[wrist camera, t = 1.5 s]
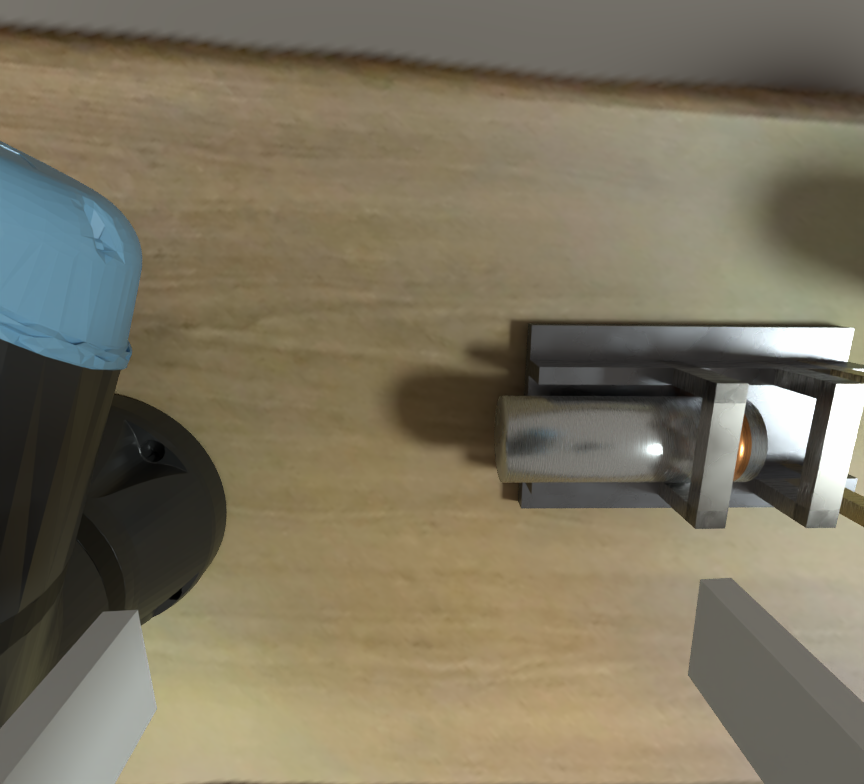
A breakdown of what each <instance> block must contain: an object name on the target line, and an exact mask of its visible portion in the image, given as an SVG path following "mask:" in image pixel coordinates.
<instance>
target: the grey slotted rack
mask: <svg viewBox="0 0 864 784" xmlns="http://www.w3.org/2000/svg"><path fill="white" fill-rule="evenodd" d="M853 333H854V328H850V327H842V326H738V325H624V324H528V338H527V355H526V373H525V390H524V396H695V397H701V398H702V405H701V412H700V419H699V426H698V433H697V440H696V446H695V453H694V460H693V467H692V474H691V481H690V482H544V483H519V494H518V502H519V505H520V507H521V508H673V509H674V510H675V511H676V512H677V513H678V514H680V515H681V516H682V517H683V518H684V519H685V520H686V521H687V522H688V523H689V524H691V525H692V526H693V527H694V528H695V529H716V528H725V525H726V519H727V513H728V507H775V508H776V509H778V510H779V511H781V512H782V513H784V514H786V515H787V516H789V517H790V518H792V519H793V520H795V521H796V522H798V523H799V524H801V525H802V526H804V527H806V528H836V524H837V519H838V515H839V513H840V514H842V515H843V516H845V517H847V518H849V519H850V520H852V521H854V522H856V523H858V524H859V525H861V526H863V527H864V497H863V496H861V495H859V494H857V493H855V488H856V483H857V478H855V477H853V476H851V475H849V474H848V471H849V466H850V462H851V457H852V453H853V448H854V444H855V440H856V435H857V431H858V426H859V422H860V417H861V413H862V409H863V404H864V365H861V364H856V363H851V362H847V361H848V357H849V352H850V347H851V343H852V338H853ZM746 400H749V401H750V402H752V403H753V404H754V405H755V406H756V408H757V409H758V410H759V412H760V414H761V416H762V418H763V420H764V423H765V426H766V430H767V437H768V450H767V456H766V460H765V463H764V465H763V467H762V469H761V471H760V472H759V474H758V475H757V476H756V477H755V478H753V479H752V480H750V481H747V482H733V477H734V471H735V465H736V459H737V453H738V447H739V441H740V435H741V429H742V423H743V417H744V411H745V406H746Z"/></svg>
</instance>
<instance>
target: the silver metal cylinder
mask: <svg viewBox="0 0 864 784" xmlns="http://www.w3.org/2000/svg"><path fill="white" fill-rule="evenodd" d="M701 405H702V398H701V397H695V396H500V397H499V399H498V402H497V407H496V413H495V427H494V446H495V460H496V467H497V473H498V477H499V479H500V481H501V482H502V483H544V482H690V481H691V474H692V467H693V460H694V453H695V446H696V440H697V433H698V426H699V419H700V412H701ZM767 450H768V437H767V430H766V426H765V423H764V420H763V418H762V416H761V414H760V412H759V410H758V409H757V408H756V406H755V405H754V404H753V403H752V402H750V401H749V400H746V406H745V411H744V417H743V423H742V429H741V435H740V441H739V447H738V453H737V459H736V465H735V471H734V477H733V482H747V481H750V480H752V479H753V478H755V477H756V476H757V475H758V474H759V472H760V471H761V469H762V467H763V465H764V463H765V460H766V456H767Z"/></svg>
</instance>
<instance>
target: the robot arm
mask: <svg viewBox="0 0 864 784" xmlns="http://www.w3.org/2000/svg"><path fill="white" fill-rule="evenodd" d="M141 270H142V250H141V246H140V242H139V239H138V237H137V235H136V232H135V230H134V229H133V227H132V225H131V224H130V222H129V221H128V220H127V218H126V217H125V216H124V215H123V213H122V212H121V211H120V210H119V209H118V208H117V207H116V206H115V205H114V204H113V203H111V202H110V201H109V200H107V199H106V198H105V197H104V196H102V195H101V194H99V193H97V192H96V191H94V190H93V189H91V188H89V187H88V186H86V185H84V184H82V183H80V182H79V181H77V180H75V179H73V178H71V177H69V176H68V175H66V174H64V173H62V172H60V171H58V170H56V169H54V168H52V167H51V166H49V165H47V164H45V163H43V162H41V161H39V160H37V159H35V158H33V157H31V156H29V155H27V154H25V153H23V152H21V151H19V150H17V149H15V148H13V147H11V146H9V145H8V144H6V143H3V142H1V141H0V784H115V782H116V781H117V779H118V777H119V775H120V773H121V772H122V770H123V768H124V766H125V765H126V763H127V761H128V759H129V757H130V756H131V754H132V752H133V750H134V749H135V747H136V745H137V743H138V741H139V740H140V738H141V736H142V734H143V733H144V731H145V729H146V727H147V725H148V724H149V722H150V720H151V718H152V717H153V715H154V713H155V711H156V709H157V706H156V701H155V696H154V691H153V686H152V680H151V675H150V670H149V665H148V660H147V655H146V650H145V644H144V639H143V634H142V629H141V625H143V624H144V623H146V622H147V621H149V620H150V619H151V618H152V617H154V616H156V615H158V614H160V613H162V612H163V611H165V610H167V609H168V608H170V607H171V606H173V605H174V604H175V603H177V602H178V601H179V600H180V599H182V598H183V597H184V596H185V595H186V594H187V593H188V592H189V591H190V590H191V589H192V588H193V587H194V585H195V584H196V583H197V582H198V580H199V579H200V578H201V576H202V575H203V573H204V572H205V571H206V569H207V568H208V566H209V565H210V564H211V562H212V561H213V559H214V557H215V556H216V554H217V552H218V550H219V547H220V545H221V542H222V539H223V536H224V531H225V526H226V500H225V494H224V489H223V486H222V482H221V479H220V477H219V474H218V472H217V470H216V468H215V466H214V464H213V462H212V460H211V458H210V457H209V455H208V454H207V452H206V451H205V449H204V448H203V447H202V446H201V444H200V443H199V442H198V441H197V440H196V439H195V437H194V436H193V435H192V434H191V433H190V432H189V431H188V430H186V429H185V428H184V427H183V426H182V425H181V424H179V423H178V422H177V421H175V420H174V419H173V418H171V417H170V416H168V415H166V414H165V413H163V412H161V411H160V410H158V409H156V408H154V407H152V406H150V405H148V404H145V403H143V402H140V401H137V400H134V399H131V398H128V397H124V396H120V395H114V392H115V388H116V384H117V381H118V377H119V374H120V370H122V369H125V368H127V364H128V362H129V359H130V357H131V355H132V348H131V346H130V343H129V341H128V337H129V331H130V326H131V321H132V316H133V311H134V306H135V301H136V296H137V291H138V286H139V280H140V275H141ZM688 676H689V677H690V678H691V680H692V681H693V683H694V684H695V686H696V687H697V688H698V690H699V691H700V693H701V694H702V696H703V697H704V698H705V700H706V701H707V703H708V704H709V706H710V707H711V708H712V710H713V711H714V713H715V714H716V716H717V717H718V718H719V720H720V721H721V723H722V724H723V726H724V727H725V728H726V730H727V731H728V733H729V734H730V736H731V737H732V738H733V740H734V741H735V743H736V744H737V746H738V747H739V748H740V750H741V751H742V753H743V754H744V756H745V757H746V758H747V760H748V761H749V763H750V764H751V766H752V767H753V768H754V770H755V771H756V773H757V774H758V776H759V777H760V778H761V780H762V781H763V783H764V784H864V703H863V702H862V701H861V700H860V699H859V698H858V697H857V696H856V695H855V694H854V693H853V692H852V691H851V690H850V689H848V688H847V687H846V686H845V685H844V684H843V683H842V682H841V681H840V680H839V679H838V678H837V677H836V676H835V675H834V674H833V673H832V672H830V671H829V670H828V669H827V668H826V667H825V666H824V665H823V664H822V663H821V662H820V661H819V660H818V659H817V658H816V657H815V656H813V655H812V654H811V653H810V652H809V651H808V650H807V649H806V648H805V647H804V646H803V645H802V644H801V643H800V642H799V641H798V640H797V639H795V638H794V637H793V636H792V635H791V634H790V633H789V632H788V631H787V630H786V629H785V628H784V627H783V626H782V625H781V624H780V623H778V622H777V621H776V620H775V619H774V618H773V617H772V616H771V615H770V614H769V613H768V612H767V611H766V610H765V609H764V608H763V607H762V606H760V605H759V604H758V603H757V602H756V601H755V600H754V599H753V598H752V597H751V596H750V595H749V594H748V593H747V592H746V591H745V590H743V589H742V588H741V587H740V586H739V585H738V584H737V583H736V582H735V581H734V580H733V579H732V578H720V579H701V580H700V586H699V593H698V601H697V609H696V616H695V624H694V632H693V640H692V647H691V655H690V663H689V671H688Z"/></svg>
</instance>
